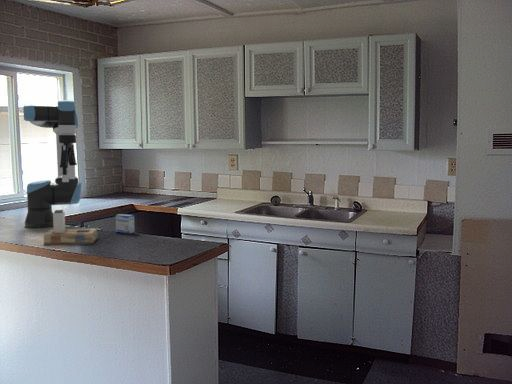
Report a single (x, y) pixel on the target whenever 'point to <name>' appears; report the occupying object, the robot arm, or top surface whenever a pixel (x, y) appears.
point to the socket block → (71, 237)
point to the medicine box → (125, 223)
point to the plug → (59, 221)
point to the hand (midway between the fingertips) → (68, 180)
